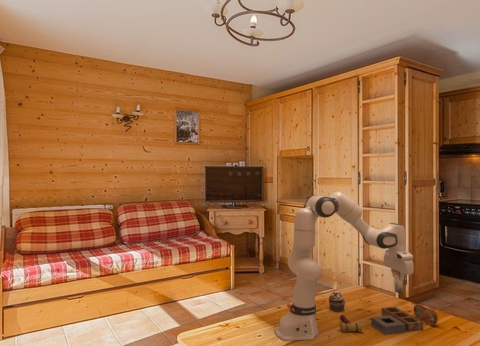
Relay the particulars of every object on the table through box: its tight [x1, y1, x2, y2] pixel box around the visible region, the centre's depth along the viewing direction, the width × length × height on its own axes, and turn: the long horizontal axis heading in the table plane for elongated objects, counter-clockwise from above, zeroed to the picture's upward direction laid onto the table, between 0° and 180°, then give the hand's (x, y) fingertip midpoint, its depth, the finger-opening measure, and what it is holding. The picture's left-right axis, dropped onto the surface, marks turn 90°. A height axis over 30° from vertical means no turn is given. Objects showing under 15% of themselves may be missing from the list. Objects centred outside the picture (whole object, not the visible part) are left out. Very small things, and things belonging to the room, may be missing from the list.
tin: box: [413, 303, 439, 326], centre depth 188 cm, size 15×3×8 cm, turn 13°
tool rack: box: [381, 306, 424, 333], centre depth 188 cm, size 9×22×4 cm, turn 13°
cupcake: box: [328, 291, 346, 313], centre depth 207 cm, size 10×10×10 cm
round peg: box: [393, 270, 404, 294], centre depth 187 cm, size 4×4×11 cm
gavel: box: [339, 314, 363, 333], centre depth 186 cm, size 21×5×10 cm
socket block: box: [370, 315, 407, 335], centre depth 181 cm, size 12×12×4 cm
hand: (398, 278), depth 187 cm, fingers closed on round peg, 4 cm apart
